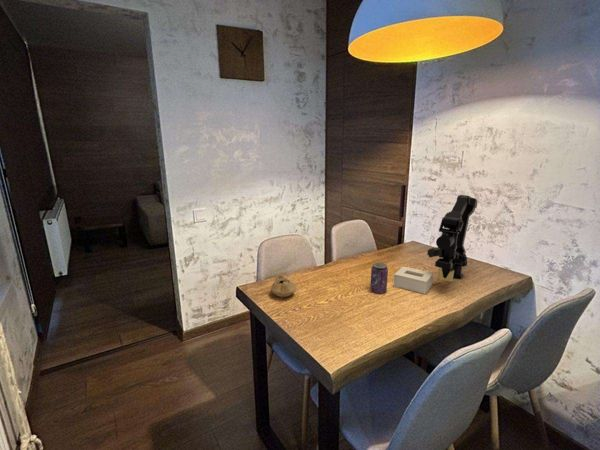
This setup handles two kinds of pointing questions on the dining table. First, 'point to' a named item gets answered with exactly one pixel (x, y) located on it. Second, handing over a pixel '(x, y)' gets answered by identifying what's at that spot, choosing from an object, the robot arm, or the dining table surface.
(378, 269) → the beverage can
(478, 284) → the dining table surface
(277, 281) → the oil lamp
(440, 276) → the two-tone wooden block
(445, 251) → the robot arm
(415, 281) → the moneybox
